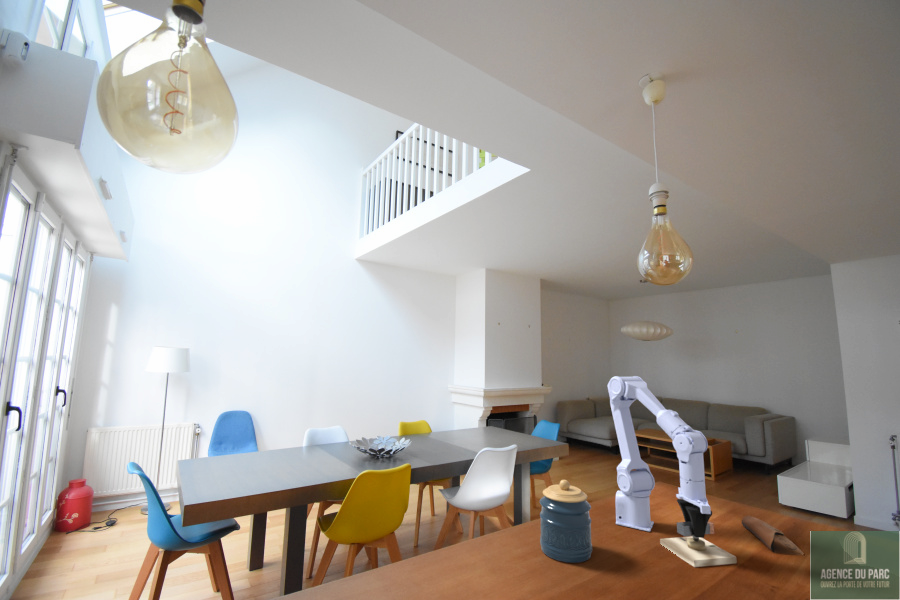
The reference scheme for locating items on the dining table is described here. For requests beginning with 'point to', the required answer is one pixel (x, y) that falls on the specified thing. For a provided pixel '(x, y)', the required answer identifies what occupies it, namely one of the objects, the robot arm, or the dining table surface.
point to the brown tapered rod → (771, 536)
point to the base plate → (698, 551)
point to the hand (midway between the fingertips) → (695, 533)
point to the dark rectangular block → (687, 530)
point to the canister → (565, 523)
